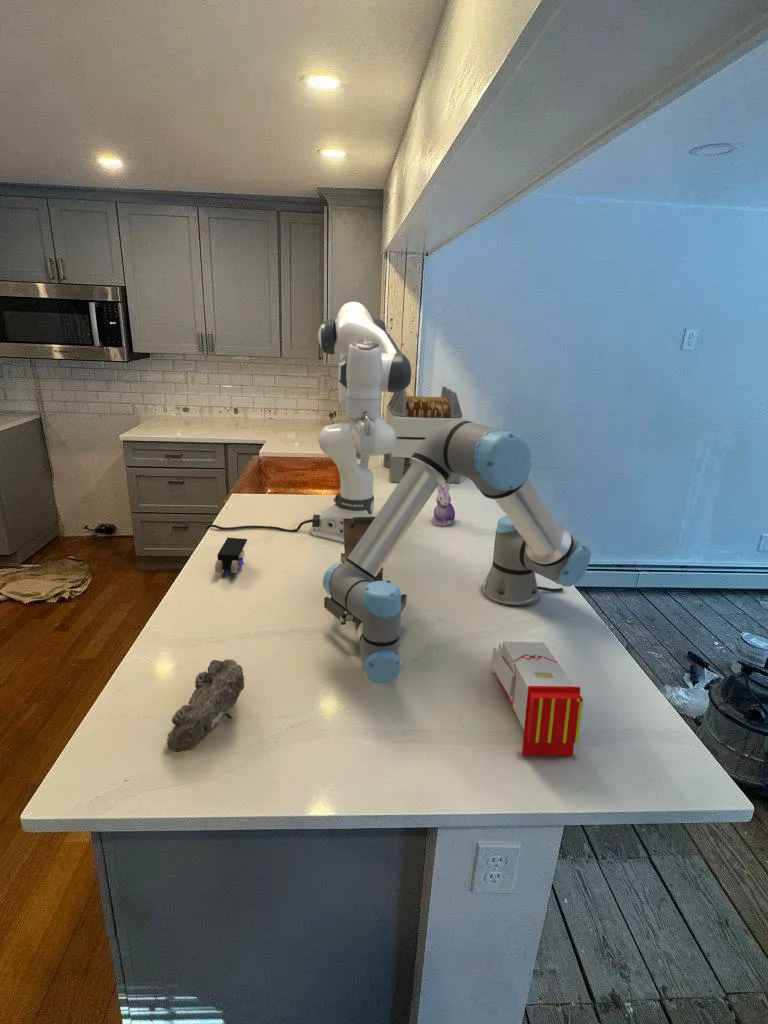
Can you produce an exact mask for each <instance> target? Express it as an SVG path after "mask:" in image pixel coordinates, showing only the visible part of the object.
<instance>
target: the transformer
mask: <svg viewBox="0 0 768 1024" xmlns="http://www.w3.org/2000/svg"><path fill="white" fill-rule="evenodd" d="M440 393H441V394H440V396H415V395H414V396H413V395H412V396H411V395H407V394H408V393H407V390H406V389H404V390H403V391H402V392H400V393H393V394H392V395H391V398H390V400H389V402H388V404H387V405H386V413H385V414H386V415H385V422H386V423H387V424H389V425H390V426H391V427H392V428H393V429H394V431H395V433H396V445H395V447H394V449H393V451H392V452H391V453H388V454H384V455H383V466H384V467H388V468H389V475H388V476H389V477H388V478H389V480H390V482H391V483H399V482H400V481H401V479H402V478H403V476H404V469H405V466H406V467H407V466H409V467H410V458H411V456H412V455H413V453H414V452H415V451H416V450H417V448H418V447H419V446H420V444H421V443H422V442H423V441H424V440H425V439H426V438H427V437H428V436H429V435H430V434H431V433H433V432H434V431H435V430H437V429H438V428H440V427H441V426H443V425H445V424H447V423H449V422H452V421H457V420H465V419H464V418H463V411H462V408H461V405H460V402H459V398H458V395H457V392H455V391H453V390H452V389H451V388H447V386H442V387H441V392H440ZM446 482H447V483H449V484H455V483H456V484H459V483H461V475H458V474H456V473H453V474H452V475H450V477H449V478H448V479H447V481H446Z"/></svg>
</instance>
